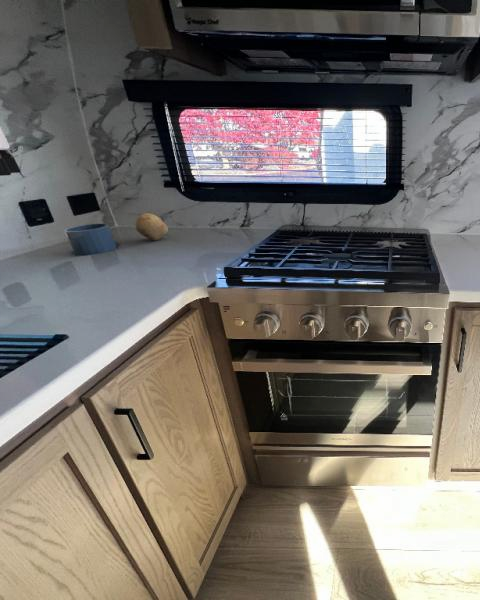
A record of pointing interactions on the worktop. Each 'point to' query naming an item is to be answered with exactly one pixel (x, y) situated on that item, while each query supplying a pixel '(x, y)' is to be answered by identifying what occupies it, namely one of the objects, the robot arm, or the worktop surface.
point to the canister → (91, 239)
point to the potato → (151, 226)
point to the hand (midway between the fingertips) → (8, 174)
